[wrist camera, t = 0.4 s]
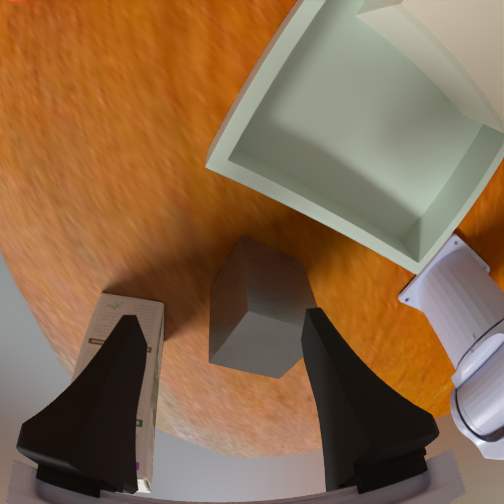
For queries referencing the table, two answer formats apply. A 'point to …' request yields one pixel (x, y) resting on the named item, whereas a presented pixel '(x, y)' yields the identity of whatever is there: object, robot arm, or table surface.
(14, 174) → the table surface
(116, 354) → the robot arm
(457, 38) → the off-white block
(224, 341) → the tin
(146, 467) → the syrup box
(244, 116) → the pale green tray
